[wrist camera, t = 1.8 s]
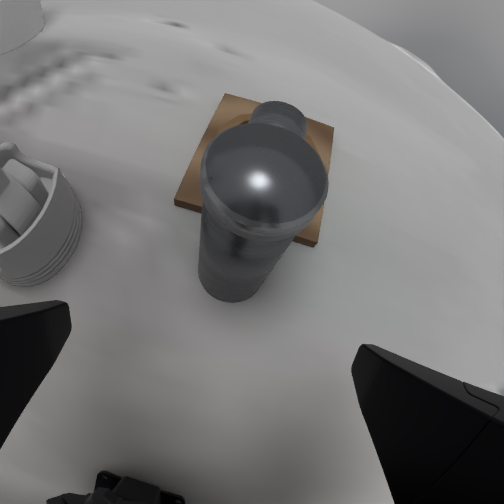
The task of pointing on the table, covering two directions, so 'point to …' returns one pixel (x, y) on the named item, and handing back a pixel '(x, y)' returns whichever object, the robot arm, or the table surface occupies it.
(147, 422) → the table surface
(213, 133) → the duct plate
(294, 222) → the pipe fitting
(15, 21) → the bottle
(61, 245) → the engine component
